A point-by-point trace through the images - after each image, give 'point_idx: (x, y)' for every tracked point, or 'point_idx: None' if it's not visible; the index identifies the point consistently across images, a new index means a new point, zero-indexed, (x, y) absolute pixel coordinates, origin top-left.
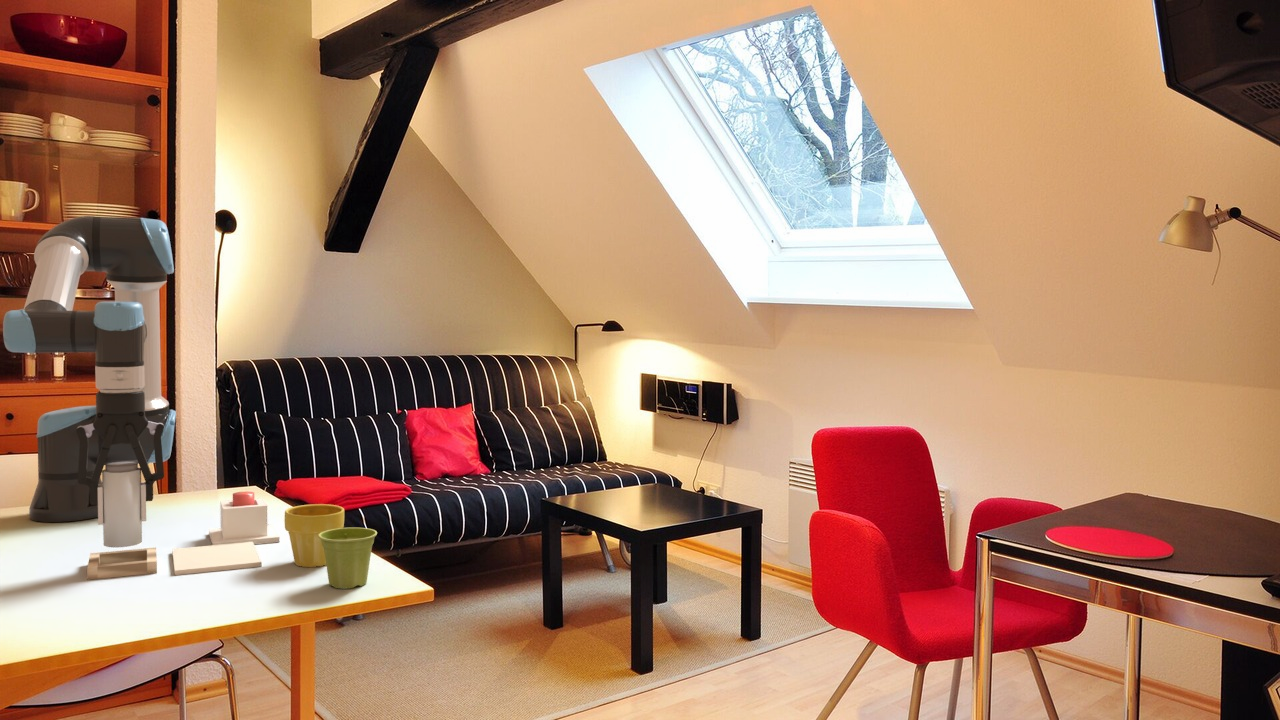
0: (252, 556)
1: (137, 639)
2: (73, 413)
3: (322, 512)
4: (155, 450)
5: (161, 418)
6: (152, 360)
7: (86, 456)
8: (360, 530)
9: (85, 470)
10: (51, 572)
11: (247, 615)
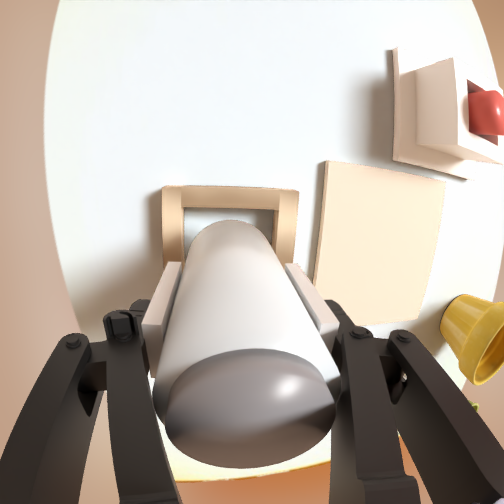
0: (420, 284)
1: (241, 476)
2: None
3: None
4: (420, 468)
5: None
6: None
7: (80, 481)
8: (475, 405)
9: (91, 426)
10: (104, 220)
11: (330, 454)
